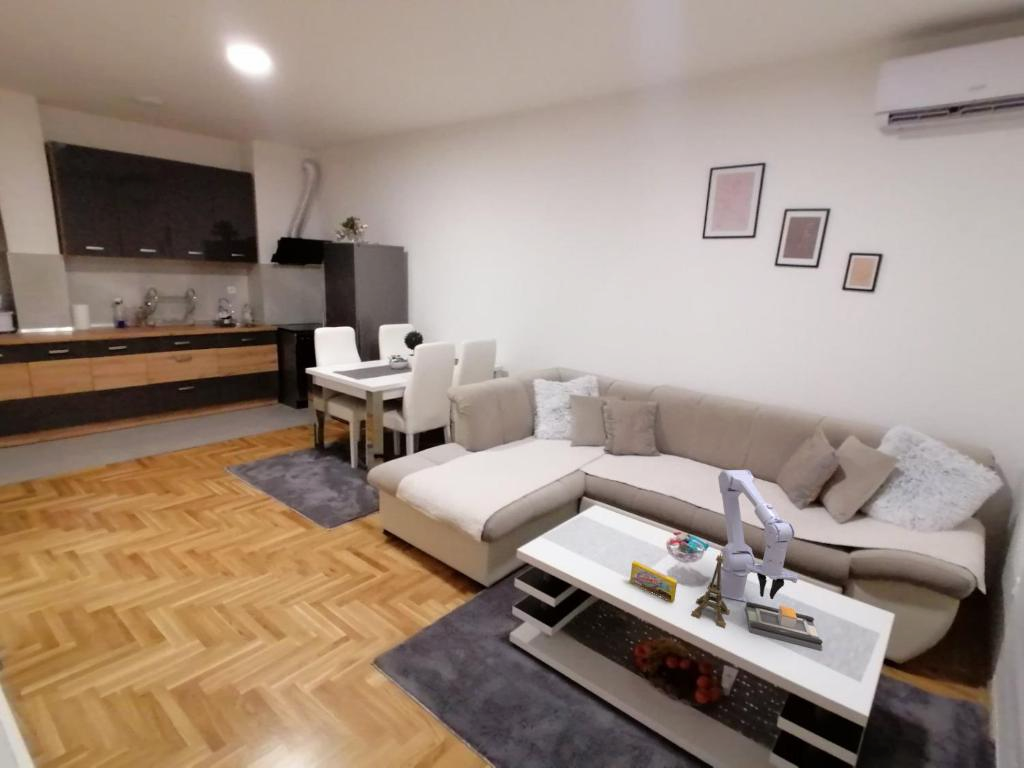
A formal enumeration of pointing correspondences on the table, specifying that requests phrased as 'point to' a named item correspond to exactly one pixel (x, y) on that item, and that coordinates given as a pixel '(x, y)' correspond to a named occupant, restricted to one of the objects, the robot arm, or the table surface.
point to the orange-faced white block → (787, 617)
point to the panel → (767, 625)
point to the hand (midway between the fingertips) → (766, 596)
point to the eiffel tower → (713, 597)
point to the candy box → (653, 581)
